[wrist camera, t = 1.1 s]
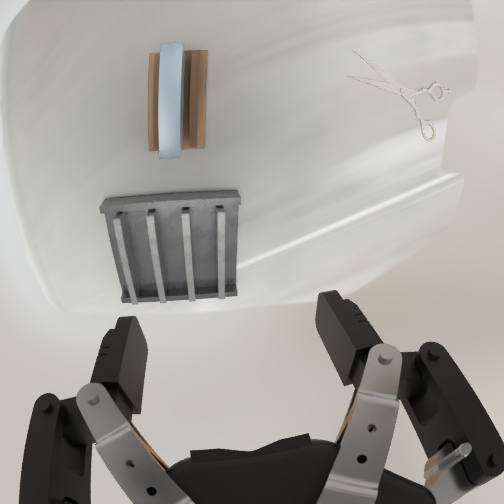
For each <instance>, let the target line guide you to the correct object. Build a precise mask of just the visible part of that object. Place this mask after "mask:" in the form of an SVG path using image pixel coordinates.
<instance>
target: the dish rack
mask: <svg viewBox="0 0 504 504" xmlns="http://www.w3.org/2000/svg"><path fill="white" fill-rule="evenodd" d="M238 205H241V197H240V195H239V193H238V191H237V190H236V191H206V192H186V193H169V194H155V195H142V196H131V197H120V198H110V199H105V200H104V202H103V203H102V204H101V206H100V213H101V214H102V213H105V216H106V222H107V227H108V232H109V237H110V242H111V247H112V251H113V255H114V260H115V264H116V268H117V272H118V276H119V280H120V283H121V287H122V291H123V293H122V297H121V300H122V303H132V304H138V302H156V301H160V303H166V301H174V300H189V301H195V299H204V298H219V299H225V297H230V296H237V288H236V257H237V225H238Z"/></svg>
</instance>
